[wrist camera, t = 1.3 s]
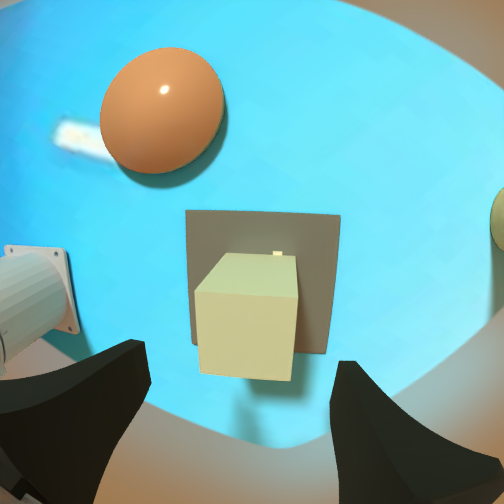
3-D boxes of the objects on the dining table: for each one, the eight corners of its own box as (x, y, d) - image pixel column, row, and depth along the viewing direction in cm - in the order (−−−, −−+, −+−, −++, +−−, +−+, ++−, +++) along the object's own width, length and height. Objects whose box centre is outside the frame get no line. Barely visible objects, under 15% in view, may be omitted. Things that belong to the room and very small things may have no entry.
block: (226, 315, 21) (200, 373, 14) (226, 252, 20) (194, 290, 13) (291, 319, 20) (290, 381, 14) (295, 256, 19) (298, 297, 13)
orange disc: (105, 176, 20) (98, 177, 19) (112, 64, 18) (105, 61, 17) (223, 171, 19) (219, 171, 18) (227, 45, 17) (224, 40, 16)
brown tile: (192, 342, 22) (191, 343, 22) (186, 209, 20) (185, 210, 19) (325, 351, 21) (325, 353, 21) (339, 215, 19) (340, 215, 18)
